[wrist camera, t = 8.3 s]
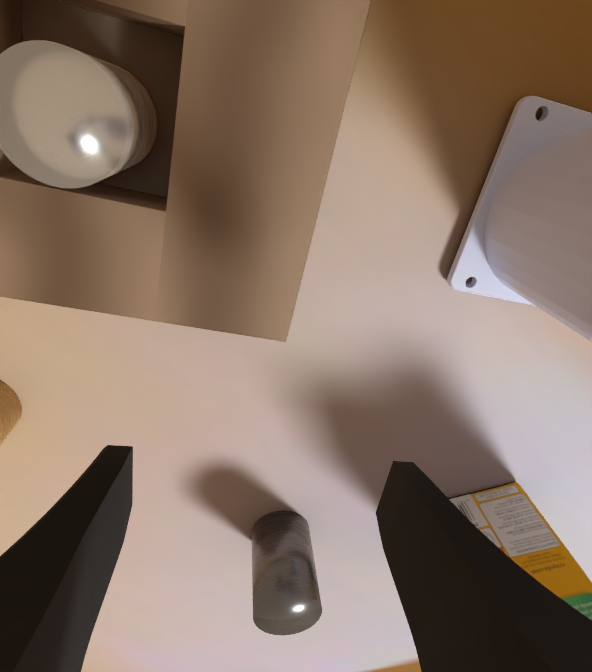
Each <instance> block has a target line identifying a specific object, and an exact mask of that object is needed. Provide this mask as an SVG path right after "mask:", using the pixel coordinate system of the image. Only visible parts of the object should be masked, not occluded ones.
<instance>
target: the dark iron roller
mask: <svg viewBox="0 0 592 672" xmlns="http://www.w3.org/2000/svg"><path fill="white" fill-rule="evenodd" d="M252 578H253V620H254V623H255V625H256V626H257V627H258V628H259V629H261V630H262V631H264V632H266V633H269V634H274V635H290V634H295V633H299V632H302V631H304V630H306V629H308V628H310V627H311V626H313V625H314V624H315V623H316V622H317V621H318V620H319V618H320V616H321V613H322V607H321V601H320V594H319V588H318V582H317V576H316V569H315V563H314V557H313V550H312V544H311V538H310V532H309V526H308V523H307V521H306V520H305V518H303V517H302V516H301V515H299V514H297V513H294V512H290V511H277V512H272V513H269V514H267V515H265V516H263V517H261V518H260V519H259V520H258V521H257V522H256V523H255V524H254V526H253V528H252Z"/></svg>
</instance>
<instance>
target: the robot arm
mask: <svg viewBox="0 0 592 672" xmlns="http://www.w3.org/2000/svg"><path fill="white" fill-rule="evenodd" d="M540 107H541V108H542V111H543V112H542V116H541V117H540V119H539V120H537V119H536V117H535V115H536V111H537V110H538V108H540ZM470 277H473V279H472V282H471V283H470V284H468V285H465V283H466V280H467V279H468V278H470ZM447 281H448V284H449V286H450V287H452V288H453V289H455V290H458V291H463V292H468V293H473V294H478V295H483V296H488V297H493V298H498V299H503V300H508V301H513V302H518V303H523V304H528V305H533V306H537V307H538V308H540V309H542V310H543V311H545V312H546V313H548V314H549V315H551V316H552V317H554V318H555V319H557V320H559V321H560V322H562V323H563V324H565V325H566V326H568V327H569V328H571V329H572V330H574V331H575V332H577V333H579V334H580V335H582V336H583V337H585V338H586V339H588V340H589V341H591V342H592V113H590V112H587V111H584V110H580V109H577V108H574V107H570V106H567V105H564V104H561V103H557V102H554V101H551V100H548V99H544V98H541V97H538V96H526V97H523V98H521V99H520V100H519V101H518V102H517V104H516V106H515V107H514V110H513V112H512V115H511V117H510V120H509V123H508V125H507V128H506V130H505V133H504V135H503V138H502V140H501V143H500V145H499V148H498V150H497V153H496V155H495V158H494V161H493V163H492V166H491V168H490V171H489V173H488V176H487V178H486V181H485V183H484V186H483V188H482V191H481V193H480V196H479V198H478V201H477V204H476V206H475V209H474V211H473V214H472V216H471V219H470V221H469V224H468V226H467V229H466V231H465V234H464V236H463V239H462V242H461V244H460V247H459V249H458V252H457V254H456V257H455V259H454V262H453V264H452V267H451V269H450V272H449V274H448V278H447ZM132 467H133V447H130V446H113V445H108V446H106V447H105V448H104V449H103V450H102V451H101V452H100V454H99V455H98V456H97V457H96V459H95V460H94V461H93V462H92V464H91V465H90V466H89V467H88V468H87V470H86V471H85V472H84V473H83V474H82V475H81V476H80V478H79V479H78V480H77V481H76V482H75V483H74V484H73V485H72V487H71V488H70V489H69V490H68V491H67V492H66V493H65V494H64V495H63V496H62V497H61V498H60V499H59V500H58V501H57V503H56V504H55V505H54V506H53V507H52V508H51V509H50V510H49V511H48V512H47V513H46V514H45V515H44V516H43V517H42V518H41V519H40V520H39V521H38V522H37V523H36V524H35V525H34V526H32V527H31V528H30V529H29V530H28V531H27V532H26V533H25V534H24V535H23V536H22V537H21V538H20V539H19V540H18V541H17V542H16V543H15V544H13V545H12V546H11V547H10V548H9V549H8V550H7V551H6V552H4V553H3V554H2V555H1V556H0V672H81V669H82V665H83V661H84V657H85V654H86V650H87V647H88V644H89V641H90V637H91V634H92V631H93V628H94V625H95V623H96V620H97V617H98V614H99V611H100V608H101V605H102V603H103V600H104V597H105V594H106V591H107V588H108V585H109V583H110V580H111V577H112V574H113V571H114V568H115V565H116V562H117V560H118V557H119V554H120V551H121V548H122V545H123V542H124V538H125V533H126V529H127V525H128V520H129V516H130V512H131V507H132ZM376 515H377V521H378V526H379V531H380V536H381V540H382V545H383V549H384V552H385V555H386V558H387V561H388V564H389V567H390V571H391V574H392V577H393V580H394V582H395V585H396V588H397V591H398V594H399V597H400V600H401V603H402V606H403V609H404V612H405V615H406V618H407V621H408V624H409V627H410V630H411V633H412V636H413V640H414V643H415V646H416V650H417V654H418V658H419V662H420V666H421V671H422V672H592V620H591V619H589V618H588V617H586V616H585V615H583V614H582V613H580V612H579V611H578V610H576V609H575V608H573V607H572V606H571V605H569V604H568V603H567V602H565V601H564V600H562V599H561V598H560V597H558V596H557V595H555V594H554V593H553V592H552V591H550V590H549V589H548V588H546V587H545V586H544V585H542V584H541V583H540V582H539V581H537V580H536V579H535V578H534V577H532V576H531V575H530V574H529V573H528V572H526V571H525V570H524V569H523V568H521V567H520V566H519V565H518V564H517V563H515V562H514V561H513V560H512V559H511V558H510V557H508V556H507V555H506V554H505V553H504V552H503V551H502V550H500V549H499V548H498V547H497V546H496V545H495V544H494V543H493V542H492V541H491V540H490V539H489V538H487V537H486V536H485V535H484V534H483V533H482V532H481V531H480V530H479V529H478V528H477V527H476V526H475V525H474V524H473V523H472V522H471V521H470V520H469V519H468V518H467V517H466V516H465V515H464V514H463V513H462V512H461V511H460V510H459V509H458V508H457V507H456V506H455V505H454V504H453V503H452V502H451V501H450V500H449V499H448V498H447V497H446V496H445V495H444V494H443V493H442V492H441V491H440V490H439V488H438V487H437V486H436V485H435V484H434V483H433V482H432V481H431V480H430V479H429V478H428V477H427V476H426V475H425V474H424V473H423V472H422V471H421V470H420V469H419V468H418V467H417V466H416V465H415V464H414V463H413V462H397V461H393V464H392V466H391V469H390V472H389V475H388V478H387V481H386V484H385V487H384V490H383V493H382V496H381V499H380V502H379V505H378V508H377V511H376Z"/></svg>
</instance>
